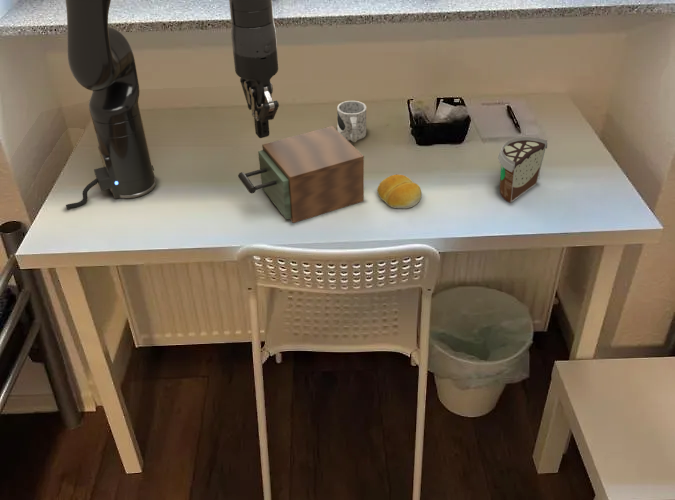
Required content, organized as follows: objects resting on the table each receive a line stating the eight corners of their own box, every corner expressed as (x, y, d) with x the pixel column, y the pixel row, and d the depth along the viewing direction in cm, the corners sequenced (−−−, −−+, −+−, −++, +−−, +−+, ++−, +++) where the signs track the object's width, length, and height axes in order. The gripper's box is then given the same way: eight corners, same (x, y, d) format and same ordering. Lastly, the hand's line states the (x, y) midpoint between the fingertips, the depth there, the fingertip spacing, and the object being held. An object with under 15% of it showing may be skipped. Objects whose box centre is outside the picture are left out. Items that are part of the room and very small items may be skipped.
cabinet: (293, 223, 137) (289, 177, 131) (266, 188, 147) (262, 144, 140) (363, 201, 143) (363, 156, 136) (333, 169, 152) (332, 125, 145)
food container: (515, 170, 150) (522, 128, 144) (540, 181, 147) (548, 139, 141) (481, 194, 144) (486, 151, 137) (506, 206, 140) (513, 163, 134)
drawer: (258, 228, 135) (254, 189, 129) (235, 195, 143) (230, 158, 138) (352, 199, 142) (351, 161, 136) (325, 169, 150) (323, 133, 145)
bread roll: (397, 215, 139) (397, 198, 136) (371, 193, 145) (371, 177, 142) (430, 201, 142) (431, 185, 139) (404, 181, 148) (404, 164, 145)
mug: (336, 127, 166) (336, 101, 162) (364, 125, 167) (364, 99, 162) (339, 148, 159) (339, 122, 154) (369, 147, 159) (369, 120, 155)
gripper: (220, 36, 123) (231, 124, 134) (248, 65, 114) (257, 157, 125) (260, 28, 126) (267, 115, 137) (290, 56, 117) (295, 147, 128)
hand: (262, 135), depth 131 cm, fingers closed
